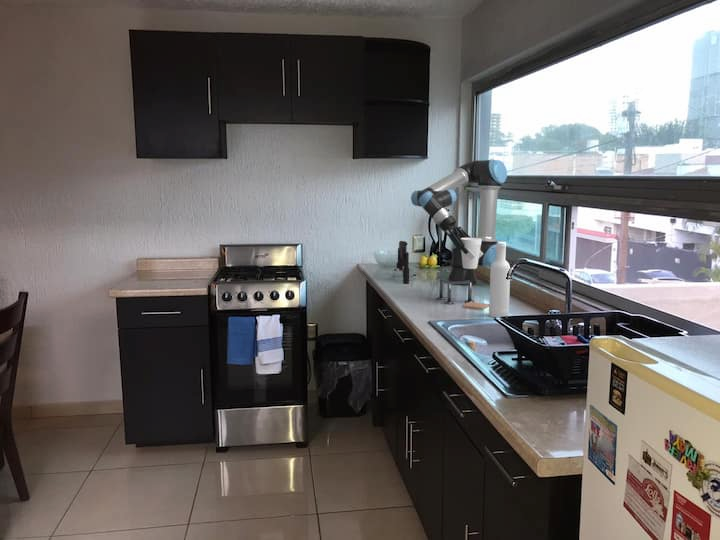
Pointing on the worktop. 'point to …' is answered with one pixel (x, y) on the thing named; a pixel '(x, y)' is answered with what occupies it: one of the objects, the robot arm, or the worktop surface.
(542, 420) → the worktop surface
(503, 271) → the bottle
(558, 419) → the worktop surface
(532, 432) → the worktop surface
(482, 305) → the coaster
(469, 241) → the foam cup
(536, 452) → the worktop surface
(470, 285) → the bent rail
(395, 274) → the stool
